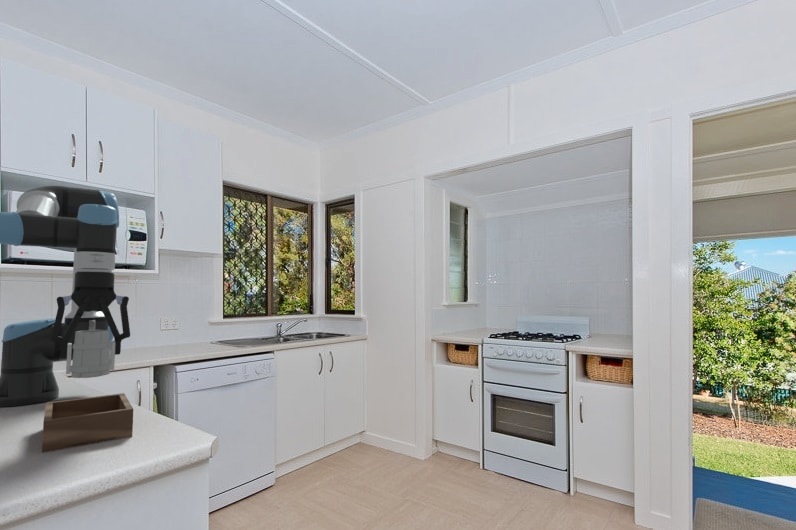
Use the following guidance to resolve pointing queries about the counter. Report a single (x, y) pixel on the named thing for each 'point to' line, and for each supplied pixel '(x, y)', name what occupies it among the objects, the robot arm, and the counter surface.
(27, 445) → the counter surface
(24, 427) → the counter surface
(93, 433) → the wooden box
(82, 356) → the mug
